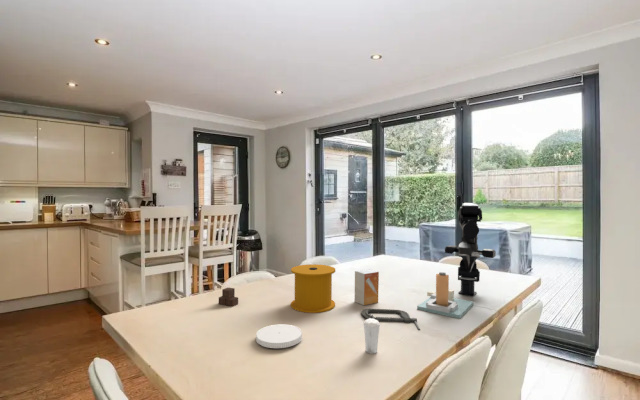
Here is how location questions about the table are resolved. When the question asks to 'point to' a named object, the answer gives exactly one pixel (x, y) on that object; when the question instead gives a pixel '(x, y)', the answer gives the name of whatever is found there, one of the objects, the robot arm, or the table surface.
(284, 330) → the plastic lid
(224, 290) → the stack of crates
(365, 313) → the c clamp
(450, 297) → the cream block
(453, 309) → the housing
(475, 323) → the table surface
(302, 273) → the spool
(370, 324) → the milkshake
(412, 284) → the table surface
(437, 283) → the jaw post
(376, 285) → the small box
